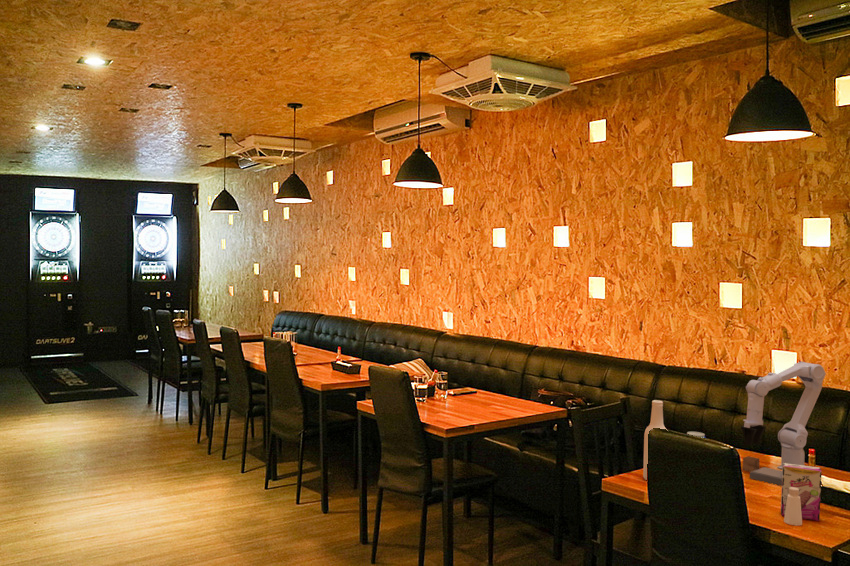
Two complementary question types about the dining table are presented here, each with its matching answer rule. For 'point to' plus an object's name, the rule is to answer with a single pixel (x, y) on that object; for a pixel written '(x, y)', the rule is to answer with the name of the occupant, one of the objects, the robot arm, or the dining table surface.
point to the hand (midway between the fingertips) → (751, 444)
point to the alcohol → (654, 423)
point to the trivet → (767, 475)
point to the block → (750, 463)
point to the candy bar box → (802, 488)
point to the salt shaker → (793, 508)
